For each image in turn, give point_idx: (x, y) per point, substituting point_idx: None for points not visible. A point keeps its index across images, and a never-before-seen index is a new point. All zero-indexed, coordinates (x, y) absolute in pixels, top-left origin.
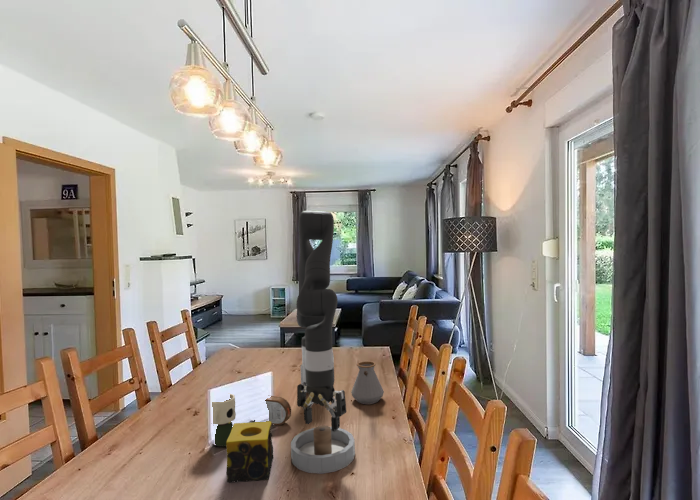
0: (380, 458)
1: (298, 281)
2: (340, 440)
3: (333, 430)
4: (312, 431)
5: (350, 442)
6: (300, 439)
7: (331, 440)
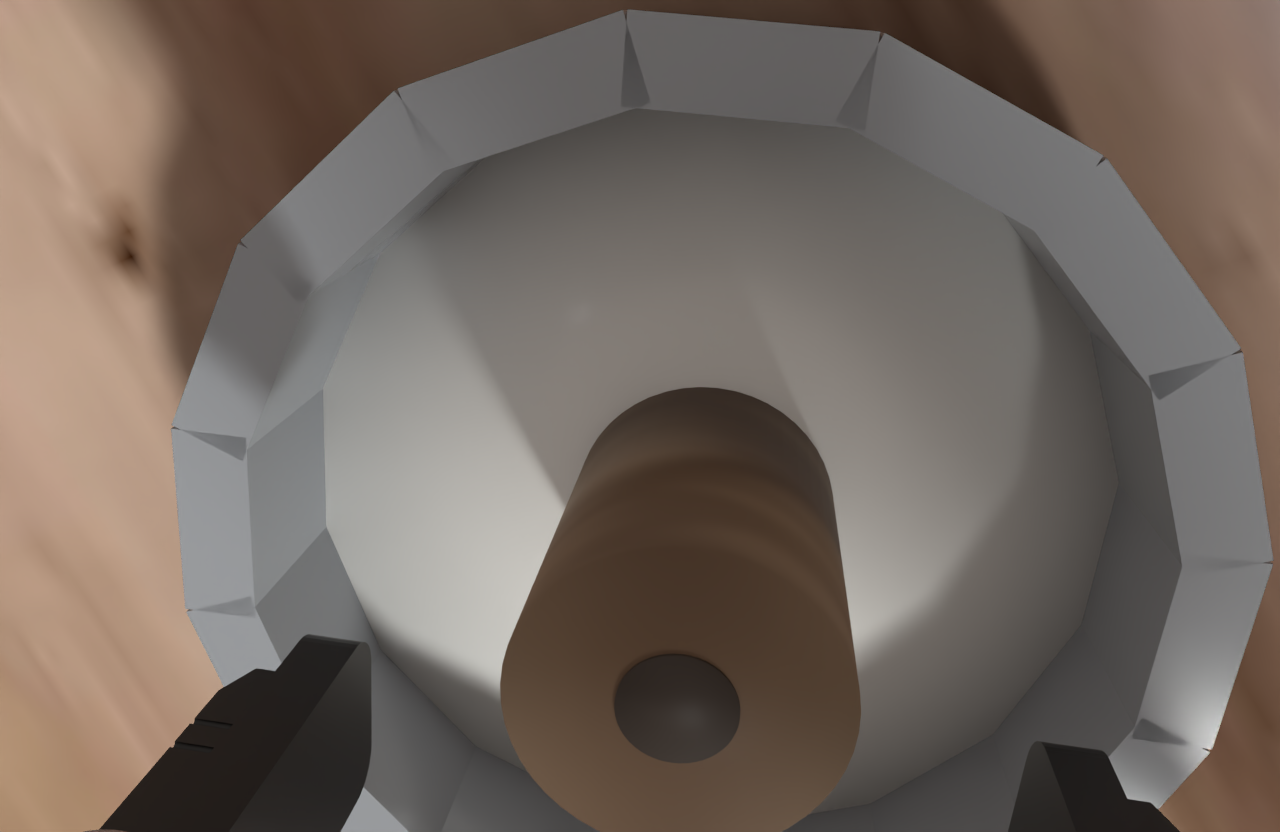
0: (38, 649)
1: None
2: None
3: (308, 639)
4: None
5: None
6: (1147, 580)
7: None
